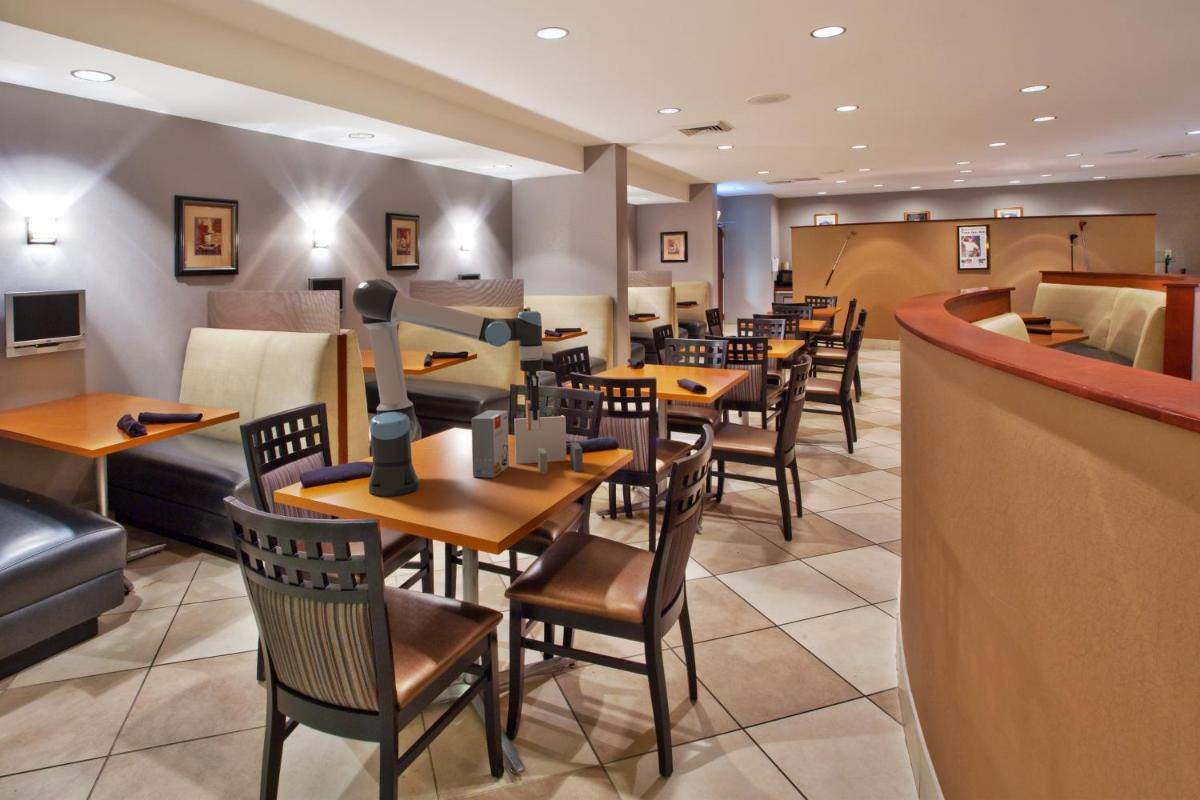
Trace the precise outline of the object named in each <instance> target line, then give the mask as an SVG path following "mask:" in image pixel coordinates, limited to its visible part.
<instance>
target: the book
mask: <svg viewBox="0 0 1200 800" xmlns="http://www.w3.org/2000/svg"><path fill="white" fill-rule="evenodd" d="M540 406H541V404H540V402H539V407H540ZM540 408H541V407H540ZM529 409H531V402H530V400H525V418H526V427H527V429H528V430H531V415H530V411H529ZM540 417H541V409H539V429H538V430H540Z"/></svg>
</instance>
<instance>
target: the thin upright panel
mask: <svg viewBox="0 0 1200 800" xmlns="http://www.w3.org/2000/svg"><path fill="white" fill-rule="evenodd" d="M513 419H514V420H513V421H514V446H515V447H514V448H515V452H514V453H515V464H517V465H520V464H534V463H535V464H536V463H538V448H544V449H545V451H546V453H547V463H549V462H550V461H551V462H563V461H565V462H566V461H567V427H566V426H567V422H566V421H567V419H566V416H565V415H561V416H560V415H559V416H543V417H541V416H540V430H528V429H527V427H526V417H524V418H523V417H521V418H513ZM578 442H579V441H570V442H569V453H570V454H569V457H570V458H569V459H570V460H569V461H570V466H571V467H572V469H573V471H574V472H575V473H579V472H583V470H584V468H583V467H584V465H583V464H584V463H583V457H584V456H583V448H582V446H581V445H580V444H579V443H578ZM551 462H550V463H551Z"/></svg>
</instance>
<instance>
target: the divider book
mask: <svg viewBox="0 0 1200 800" xmlns="http://www.w3.org/2000/svg"><path fill="white" fill-rule="evenodd" d="M537 467H538V471H539V472H540V475H544V474H545V475H547V474H548V462H547V453H546V451H545V449H544V448H538V462H537Z"/></svg>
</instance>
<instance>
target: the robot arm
mask: <svg viewBox="0 0 1200 800" xmlns="http://www.w3.org/2000/svg"><path fill="white" fill-rule="evenodd" d="M352 303H353V306H354V308H355V310H356V311H357V312H358V313H359V314H360V315H361V320H362V325H363V326H364V327H365V328H367V329H368V333H369V338H370V345H371V351H372V352H371V353H372V358H373V363H374V365H373V366H374V370H375V378H376V381H377V382H376V383H377V388H378V397H379V402H380V403H379V404H378V406H377V407H376V412H377V413H376V414H377V415H375V416H373V417H372V418H371V419H370V425H369V432H370V440H371V441H370V443H371V455H372V469H371V474H370V477H369V481H368V492H369V494H371V495H374V496H379V497H393V496H394V497H395V496H401V495H402V496H403V495H407V494H411V493H413V492H415V491H417V490H418V489H419V488H420V480H419V477H418V475H417V473H416V470H415V468H414V465H413V460H412V459H413V458H412V441H413V440H415V438H416V437H417V435H418V432H419V420H418V417H417V415H416V413H415V407H414V403H413V402H412V401H411V400H409V398H408V394H407V393H408V392H407V386H406V379H405V372H404V367H403V359H402V352H401V347H400V341H399V335H398V334H399V333H398V327H397V326H398V325H399V323H400V322H404V323H409V324H413V325H415V326H416V325H417V326H420V327H425V328H428V329H430V330H435V331H440V332H443V333H448V334H451V335H454V336H455V335H456V336H460V337H463V338H467V339H471V340H475V341H479V342H481V343H486V344H489V345H491V346H493V347H503V346H504V345H507V343H508V342H519V343H518V344H519V347H518V349H519V351H518V352H519V358H520V360H519V368H520V371H521V372H527V374H526V375H525V381H526V385H525V386H526V396H527V397H526V399H527V400H530V402H531V409H529V411H530V415H531V430H538V429H539V409H540V408H541V407H539V403H540V394H539V390H540V389H539V388H540V387H539V382H540V377H539V376H538V374H537V372H541V371H543V370H544V359H542V358H543V352H544V351H545V347H543V325H542V315H541V313H540V312H539V311H537V310H536V311H535V310H534V311H533V310H531V311H530V310H529V311H528V310H527V311H519V312H518V314H517V317H513V318H507V317H506V318H501V317H500V318H490V317H485V316H481V315H478V314H475V313H470V312H467V311H462V310H459V309H457V308H452V307H448V306H443V305H441V304H440V305H439V304H437V303H433V302H429V301H426V300H422V299H417V298H414V297H411V296H407V295H403V293H402V292H401V291H400V290H398V289H397V288H396V287H395V286H394V285H393V283H391V282H389V281H388V280H385V279H377V278H376V279H368V280H364V281H362V282H361V283H359V284H358V285H356V287H355V289H354V291H353V293H352ZM540 410H541V409H540Z"/></svg>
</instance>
